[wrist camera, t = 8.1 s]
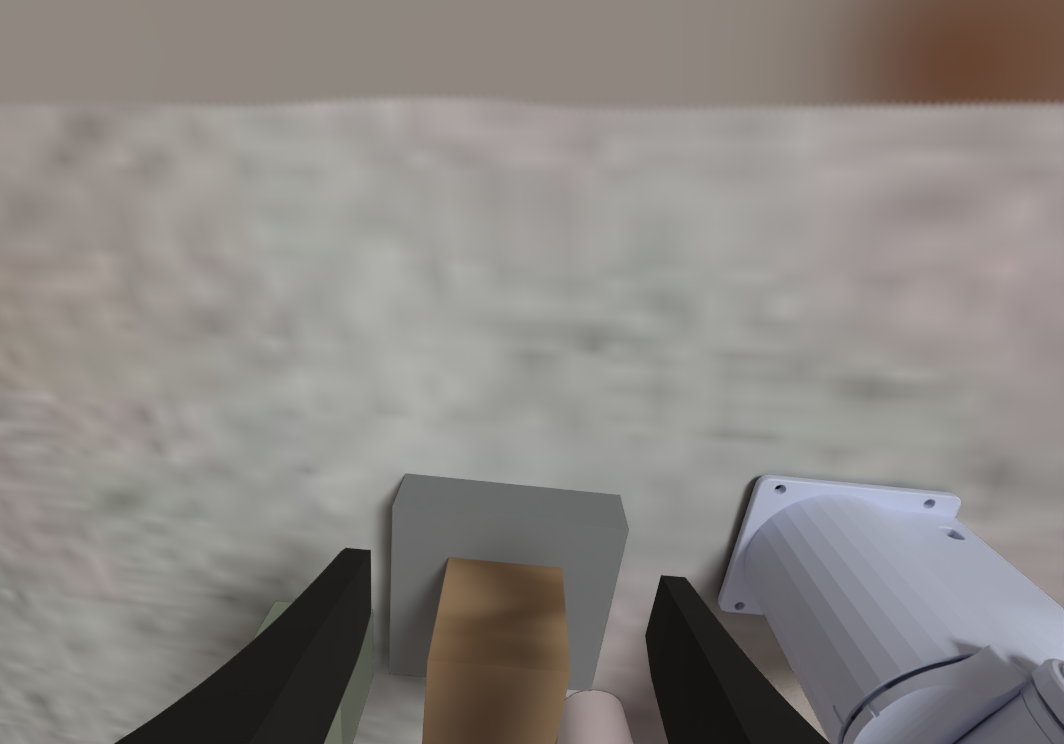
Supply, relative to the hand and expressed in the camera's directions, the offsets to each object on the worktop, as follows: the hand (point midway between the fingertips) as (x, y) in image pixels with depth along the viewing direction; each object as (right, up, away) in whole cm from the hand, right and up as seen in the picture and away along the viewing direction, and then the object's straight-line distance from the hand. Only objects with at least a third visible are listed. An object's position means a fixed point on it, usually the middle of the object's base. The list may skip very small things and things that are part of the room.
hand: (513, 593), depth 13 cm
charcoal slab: (-1, -4, +14) cm, 14 cm away
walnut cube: (-1, -5, +11) cm, 12 cm away
